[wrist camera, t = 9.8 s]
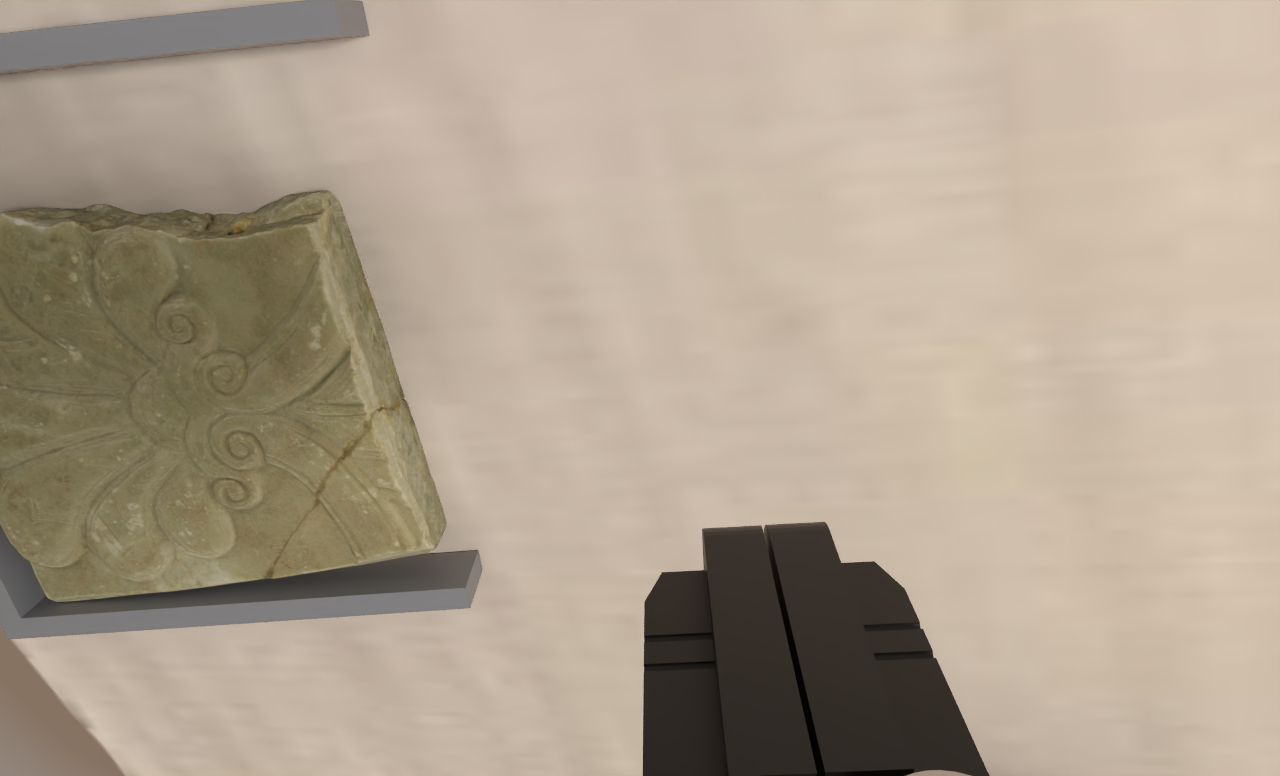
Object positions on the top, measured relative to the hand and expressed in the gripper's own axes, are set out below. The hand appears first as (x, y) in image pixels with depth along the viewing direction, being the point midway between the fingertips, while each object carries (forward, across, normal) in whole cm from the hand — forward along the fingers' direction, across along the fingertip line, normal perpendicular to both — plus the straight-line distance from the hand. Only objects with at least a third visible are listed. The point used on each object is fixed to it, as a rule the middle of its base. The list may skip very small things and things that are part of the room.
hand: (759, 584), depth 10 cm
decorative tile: (+26, +23, +8) cm, 36 cm away
